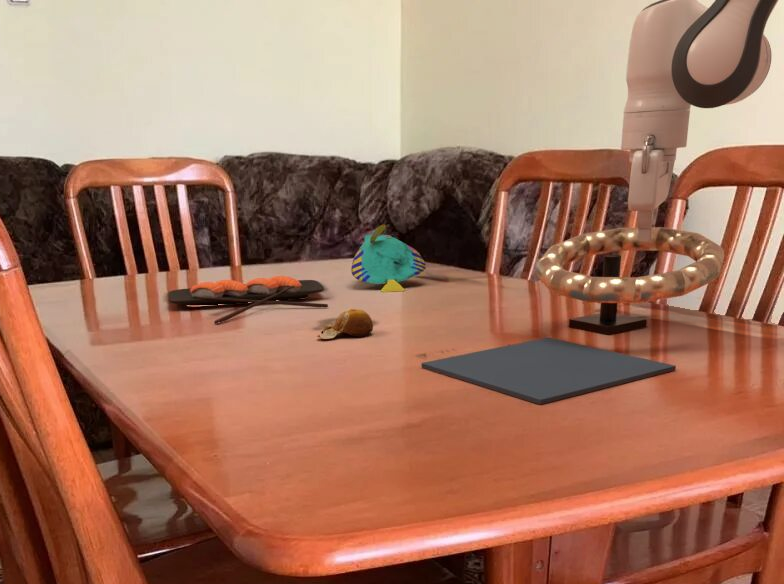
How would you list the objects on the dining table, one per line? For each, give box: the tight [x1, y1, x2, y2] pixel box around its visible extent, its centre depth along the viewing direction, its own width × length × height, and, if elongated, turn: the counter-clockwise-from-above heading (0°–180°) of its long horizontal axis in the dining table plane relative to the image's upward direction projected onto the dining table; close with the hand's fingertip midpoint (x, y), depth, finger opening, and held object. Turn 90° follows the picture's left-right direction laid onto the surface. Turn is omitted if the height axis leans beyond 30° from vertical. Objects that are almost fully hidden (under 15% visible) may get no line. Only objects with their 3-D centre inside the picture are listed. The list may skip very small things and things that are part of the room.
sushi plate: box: [167, 275, 329, 324], centre depth 151 cm, size 29×30×4 cm
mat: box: [421, 336, 677, 406], centre depth 103 cm, size 22×22×1 cm
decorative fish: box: [351, 224, 427, 293], centre depth 167 cm, size 20×12×15 cm
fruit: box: [316, 308, 374, 340], centre depth 125 cm, size 8×8×4 cm
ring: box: [535, 226, 725, 304], centre depth 114 cm, size 24×24×3 cm
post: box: [568, 254, 648, 336], centre depth 121 cm, size 8×8×10 cm
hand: (645, 239), depth 122 cm, fingers closed on ring, 3 cm apart
